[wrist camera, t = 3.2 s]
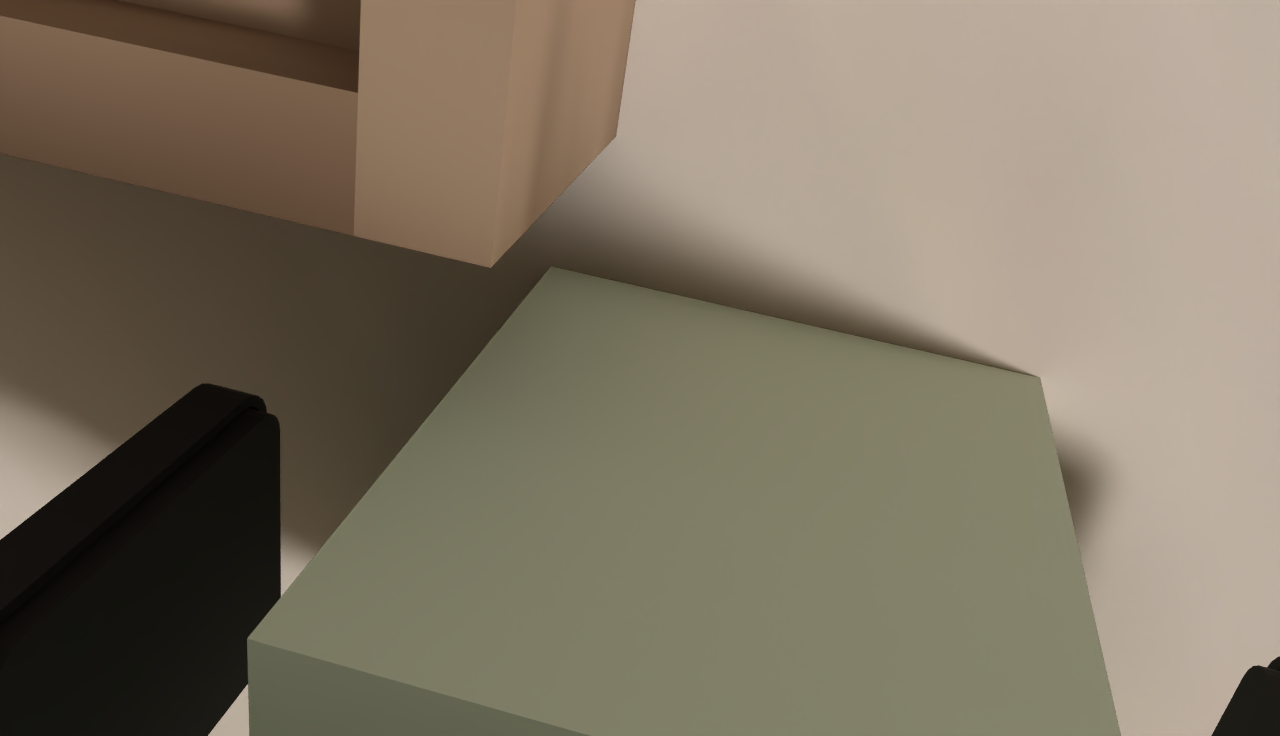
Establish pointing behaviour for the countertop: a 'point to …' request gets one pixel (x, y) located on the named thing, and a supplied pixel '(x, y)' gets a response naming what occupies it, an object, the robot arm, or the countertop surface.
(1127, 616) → the countertop surface
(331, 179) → the base block
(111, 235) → the countertop surface
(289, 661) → the sage block
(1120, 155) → the countertop surface
